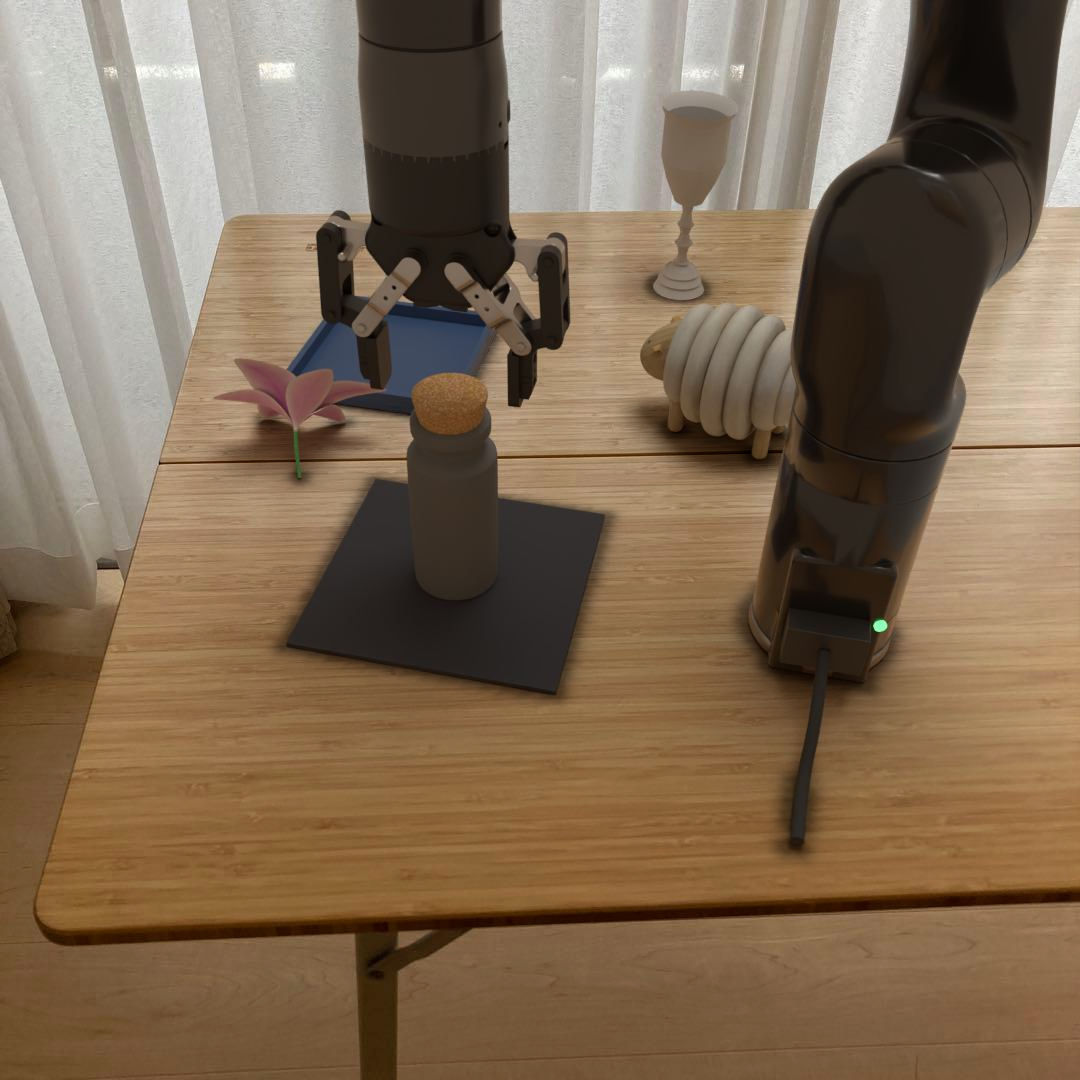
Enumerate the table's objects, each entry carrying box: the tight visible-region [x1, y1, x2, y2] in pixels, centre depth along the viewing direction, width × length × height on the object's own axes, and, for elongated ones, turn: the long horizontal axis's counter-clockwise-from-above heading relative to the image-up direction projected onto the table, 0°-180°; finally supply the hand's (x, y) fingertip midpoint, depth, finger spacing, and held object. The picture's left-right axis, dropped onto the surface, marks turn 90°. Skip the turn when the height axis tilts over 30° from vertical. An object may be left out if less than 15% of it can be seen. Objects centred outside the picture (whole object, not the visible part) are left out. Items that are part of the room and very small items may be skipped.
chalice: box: [652, 90, 739, 301], centre depth 105 cm, size 7×7×18 cm
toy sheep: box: [639, 302, 796, 460], centre depth 88 cm, size 11×17×11 cm, turn 65°
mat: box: [285, 478, 606, 695], centre depth 78 cm, size 18×18×1 cm
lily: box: [212, 357, 387, 479], centre depth 86 cm, size 12×12×10 cm
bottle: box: [406, 373, 499, 600], centre depth 73 cm, size 6×6×15 cm
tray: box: [285, 295, 498, 415], centre depth 99 cm, size 15×15×2 cm
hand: (449, 391), depth 67 cm, fingers open, 8 cm apart
